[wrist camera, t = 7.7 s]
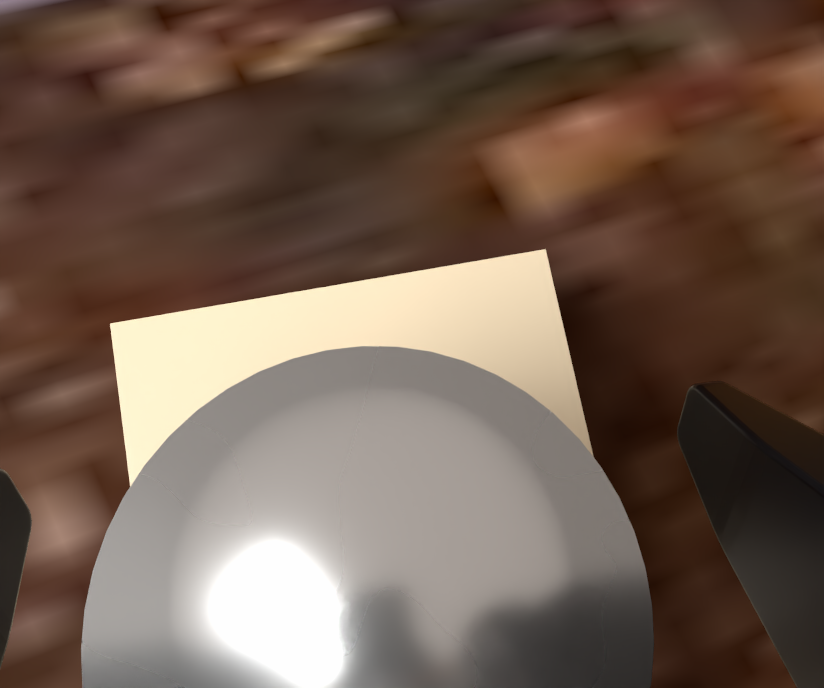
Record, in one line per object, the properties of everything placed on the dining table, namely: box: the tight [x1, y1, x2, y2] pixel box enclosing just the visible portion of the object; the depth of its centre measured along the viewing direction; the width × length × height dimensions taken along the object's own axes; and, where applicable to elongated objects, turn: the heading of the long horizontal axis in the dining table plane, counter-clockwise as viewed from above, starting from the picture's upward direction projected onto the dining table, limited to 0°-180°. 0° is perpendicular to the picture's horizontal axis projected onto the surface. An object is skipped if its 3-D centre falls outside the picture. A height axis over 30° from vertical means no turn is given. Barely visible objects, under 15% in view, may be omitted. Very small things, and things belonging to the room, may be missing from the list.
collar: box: [110, 249, 594, 487], centre depth 17 cm, size 11×11×4 cm
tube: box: [81, 346, 654, 688], centre depth 12 cm, size 5×5×14 cm
